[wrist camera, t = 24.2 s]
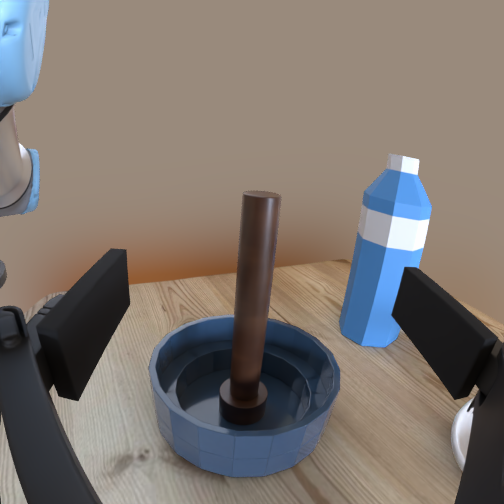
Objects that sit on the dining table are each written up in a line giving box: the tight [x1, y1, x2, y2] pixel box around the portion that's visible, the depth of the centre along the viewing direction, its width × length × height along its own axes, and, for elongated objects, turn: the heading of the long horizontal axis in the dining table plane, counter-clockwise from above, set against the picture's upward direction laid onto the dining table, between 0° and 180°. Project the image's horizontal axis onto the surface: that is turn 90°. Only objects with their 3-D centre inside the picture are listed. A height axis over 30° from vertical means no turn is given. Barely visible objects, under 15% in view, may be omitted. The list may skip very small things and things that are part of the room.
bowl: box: [149, 315, 340, 477], centre depth 27 cm, size 16×16×6 cm
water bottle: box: [339, 154, 432, 347], centre depth 40 cm, size 9×9×25 cm
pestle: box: [219, 191, 281, 425], centre depth 24 cm, size 4×4×20 cm
